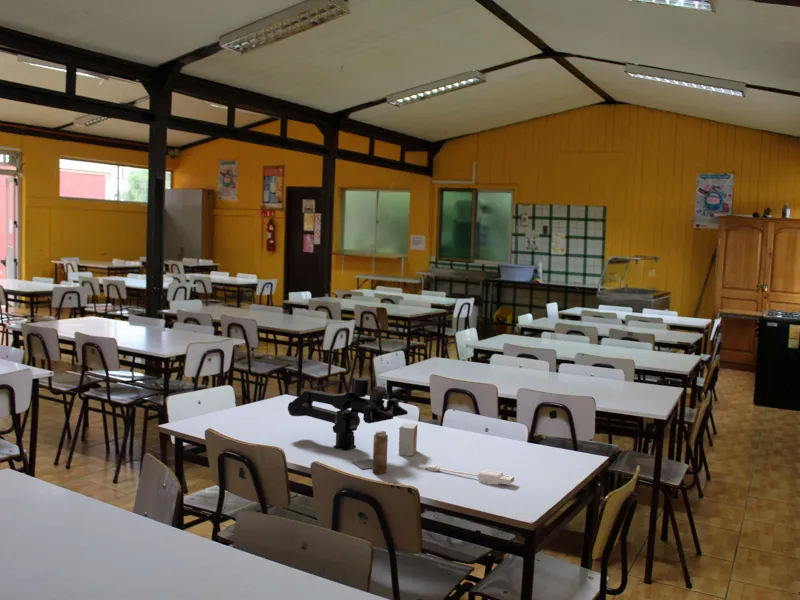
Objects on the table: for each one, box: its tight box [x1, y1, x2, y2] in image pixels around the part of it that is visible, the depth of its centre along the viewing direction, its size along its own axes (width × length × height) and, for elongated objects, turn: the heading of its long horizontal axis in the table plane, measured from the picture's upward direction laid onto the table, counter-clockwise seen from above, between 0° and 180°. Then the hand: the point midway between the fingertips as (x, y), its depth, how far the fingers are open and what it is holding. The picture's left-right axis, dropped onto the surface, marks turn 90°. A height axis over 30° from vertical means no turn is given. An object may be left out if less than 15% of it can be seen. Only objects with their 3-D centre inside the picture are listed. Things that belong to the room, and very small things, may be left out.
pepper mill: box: [372, 430, 389, 476], centre depth 249 cm, size 5×5×14 cm
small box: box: [398, 422, 418, 457], centre depth 275 cm, size 8×6×10 cm
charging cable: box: [423, 464, 515, 486], centre depth 248 cm, size 5×32×3 cm, turn 60°
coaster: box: [351, 458, 373, 470], centre depth 258 cm, size 9×9×1 cm
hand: (400, 415), depth 264 cm, fingers open, 9 cm apart
